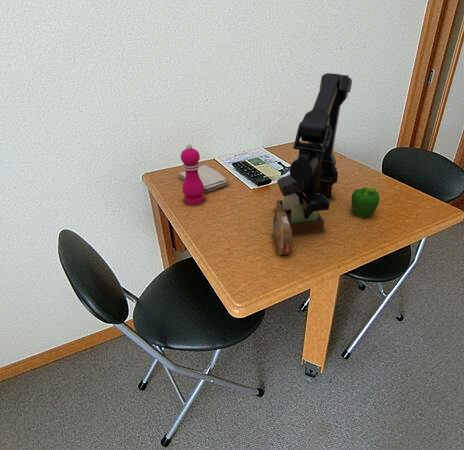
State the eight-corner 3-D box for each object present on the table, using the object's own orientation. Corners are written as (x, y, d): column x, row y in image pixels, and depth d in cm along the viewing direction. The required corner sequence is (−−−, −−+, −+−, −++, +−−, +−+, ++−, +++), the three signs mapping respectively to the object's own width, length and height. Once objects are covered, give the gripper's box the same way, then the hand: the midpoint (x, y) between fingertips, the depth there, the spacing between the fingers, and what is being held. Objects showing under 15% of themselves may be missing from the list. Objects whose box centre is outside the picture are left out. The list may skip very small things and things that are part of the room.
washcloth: (203, 195, 119) (202, 187, 118) (177, 177, 131) (177, 170, 129) (230, 185, 126) (230, 178, 124) (204, 169, 137) (203, 162, 135)
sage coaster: (289, 228, 101) (291, 205, 97) (315, 225, 103) (318, 202, 98) (290, 230, 101) (292, 206, 96) (316, 227, 102) (319, 204, 97)
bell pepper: (344, 214, 109) (349, 187, 104) (355, 205, 114) (360, 178, 109) (368, 224, 105) (375, 195, 99) (379, 213, 110) (386, 186, 104)
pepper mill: (201, 206, 113) (196, 149, 102) (180, 204, 114) (173, 147, 103) (207, 196, 119) (203, 141, 108) (188, 194, 120) (182, 139, 109)
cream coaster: (281, 211, 110) (283, 189, 105) (305, 209, 111) (307, 187, 106) (282, 212, 109) (283, 190, 104) (306, 210, 110) (308, 188, 106)
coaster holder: (276, 210, 111) (276, 200, 109) (307, 207, 113) (308, 197, 111) (287, 235, 99) (288, 224, 97) (322, 232, 101) (324, 221, 99)
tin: (272, 229, 102) (273, 205, 97) (282, 229, 102) (284, 204, 97) (280, 261, 89) (281, 235, 85) (291, 260, 90) (294, 234, 85)
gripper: (272, 155, 97) (270, 202, 106) (290, 184, 82) (286, 236, 90) (310, 153, 99) (304, 199, 107) (334, 181, 83) (326, 232, 92)
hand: (304, 216), depth 99 cm, fingers closed
